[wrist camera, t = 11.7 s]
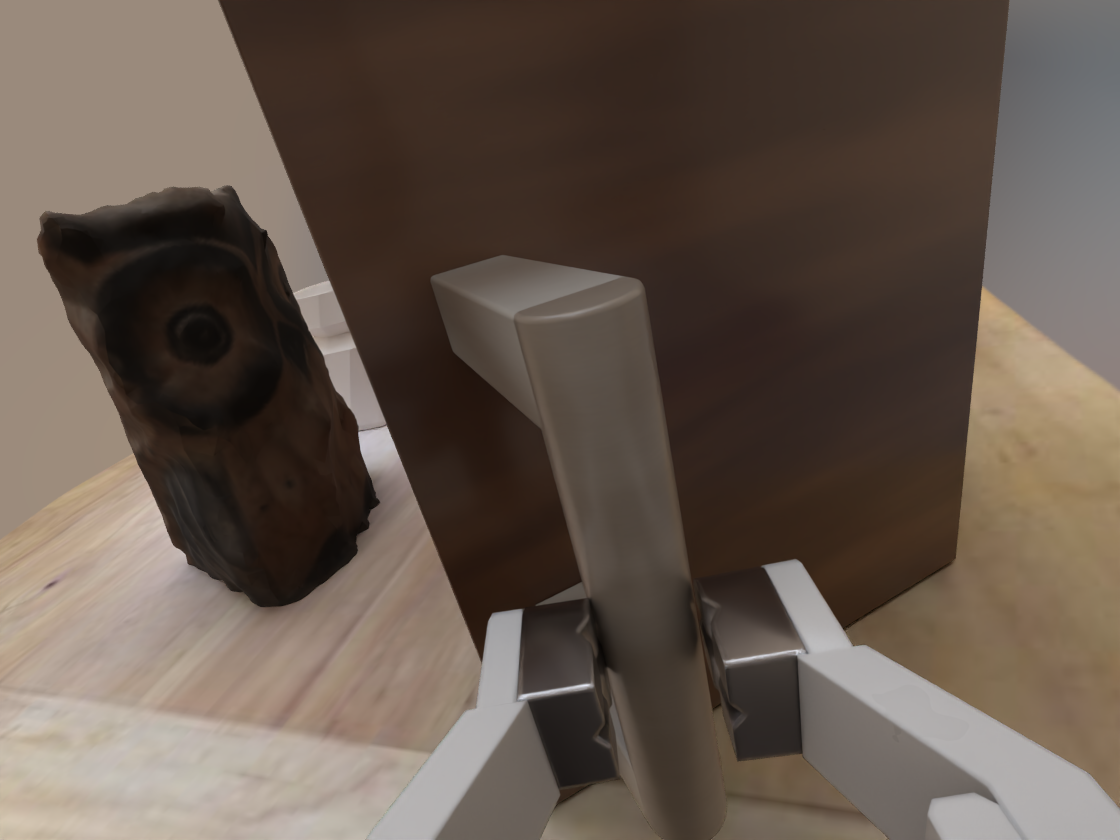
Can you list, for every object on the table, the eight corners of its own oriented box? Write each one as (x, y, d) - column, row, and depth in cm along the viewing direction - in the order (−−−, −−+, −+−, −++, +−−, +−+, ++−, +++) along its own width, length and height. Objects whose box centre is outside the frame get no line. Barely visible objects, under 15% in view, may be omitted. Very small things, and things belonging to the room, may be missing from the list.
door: (1150, 659, 17) (1492, -433, 8) (643, 1067, 12) (-59, -708, 3) (931, 546, 23) (981, -153, 14) (530, 785, 18) (188, -75, 9)
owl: (366, 465, 42) (246, 185, 34) (448, 520, 33) (310, 152, 25) (184, 558, 36) (-20, 240, 27) (221, 660, 26) (-73, 223, 18)
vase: (337, 410, 56) (285, 292, 50) (422, 381, 58) (381, 265, 53) (337, 442, 48) (276, 307, 43) (435, 408, 50) (388, 275, 45)
